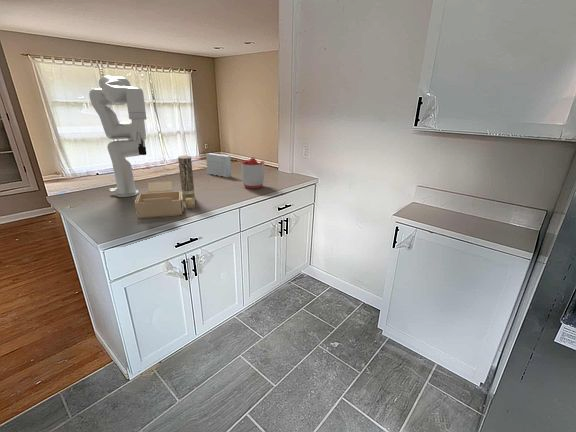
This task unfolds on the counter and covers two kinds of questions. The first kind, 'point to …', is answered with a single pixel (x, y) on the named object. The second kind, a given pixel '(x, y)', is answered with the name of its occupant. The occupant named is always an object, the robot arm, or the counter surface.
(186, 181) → the paper tube
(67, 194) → the counter surface
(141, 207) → the carton
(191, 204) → the white-capped tan cylinder
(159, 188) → the far flap
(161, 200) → the near flap
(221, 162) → the skincare box
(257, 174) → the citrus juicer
